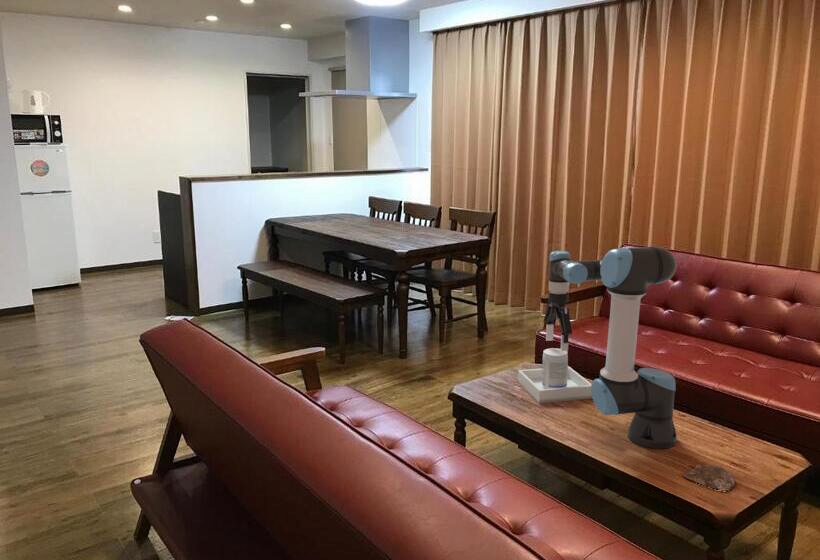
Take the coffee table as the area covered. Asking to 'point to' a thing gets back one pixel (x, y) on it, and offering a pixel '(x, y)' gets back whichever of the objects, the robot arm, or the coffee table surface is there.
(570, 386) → the white bin
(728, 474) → the shell
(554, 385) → the supplement tub
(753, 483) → the coffee table surface
